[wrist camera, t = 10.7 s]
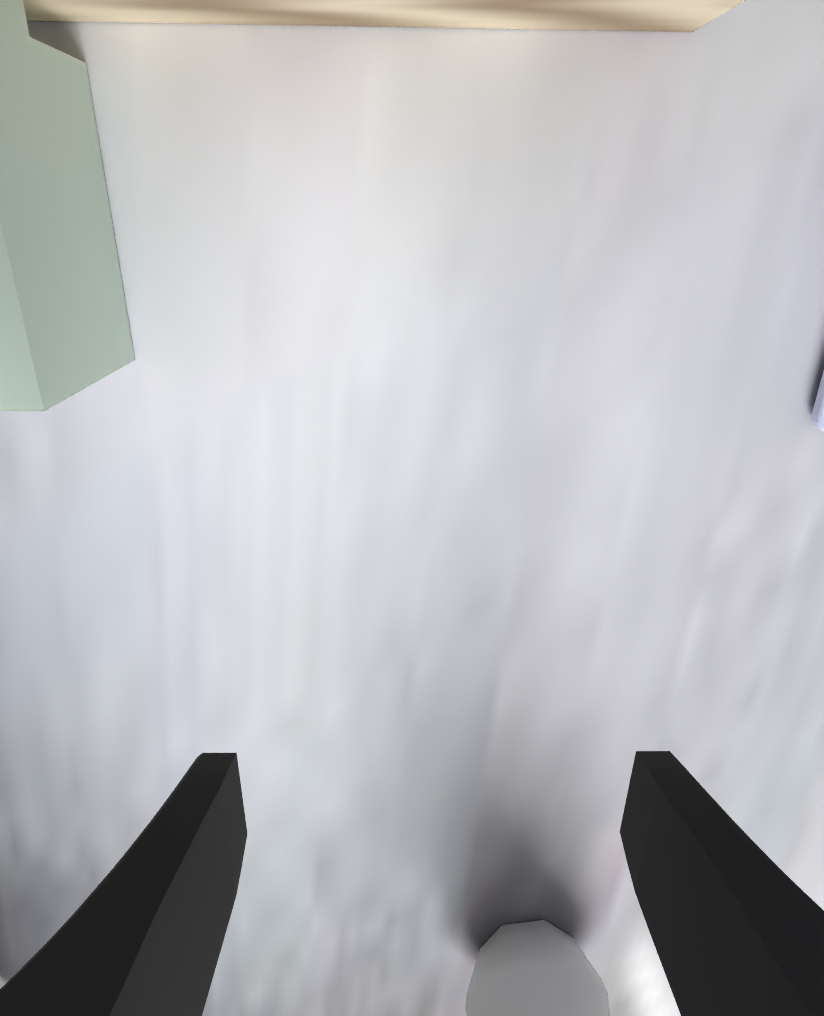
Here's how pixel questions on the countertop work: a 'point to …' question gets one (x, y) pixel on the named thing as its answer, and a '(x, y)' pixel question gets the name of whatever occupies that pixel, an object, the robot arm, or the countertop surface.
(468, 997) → the salt shaker
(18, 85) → the green plate
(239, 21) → the maple slat
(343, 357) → the countertop surface
